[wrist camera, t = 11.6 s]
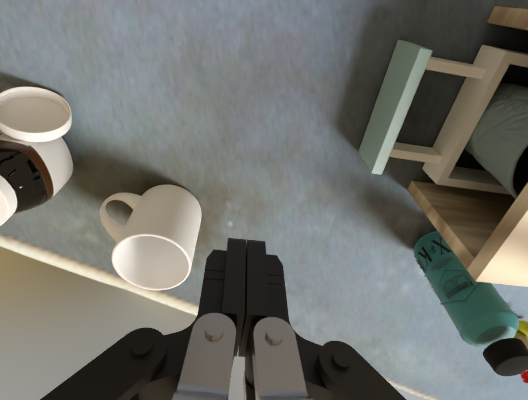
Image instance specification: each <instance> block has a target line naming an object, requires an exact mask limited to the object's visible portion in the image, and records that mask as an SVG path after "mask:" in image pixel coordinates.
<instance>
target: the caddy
mask: <svg viewBox="0 0 528 400" xmlns="http://www.w3.org/2000/svg"><path fill="white" fill-rule="evenodd" d="M431 54H432V50H430V49H427V48H424V47H422V46H419V45H416V44H414V43H411V42H408V41H403V40H398V41H397V44H396V47H395V49H394V52H393V55H392V58H391V61H390V64H389V66H388V69H387V72H386V75H385V78H384V81H383V83H382V86H381V89H380V92H379V95H378V97H377V100H376V103H375V106H374V109H373V112H372V114H371V117H370V120H369V123H368V126H367V129H366V131H365V134H364V137H363V140H362V143H361V145H360V148H359V151H358V153H359V154H360V156H361V157H362V159H363V161H364V162H365V164H366V165H367V167H368V169H369V170H370V172H371V173H373V174H381V175H382V172H383V170H384V168H385V165H386V163H387V160H388V158H389V157H394V158H401V159H408V160H415V161H421V162H425V164H424V166H423V168H422V169H423V170H424V171H425V172H426V173H427V175H428V176H429V177H430V178H431V179H432V180H433V181H434V182H435V183H436V184H437V185H445V186H452V187H459V188H466V189H474V190H481V191H488V192H495V193H503V194H510V193H509V192H508V191H507V190H506V188H505V187H504V186H503V185H502V184H501V183H500V182H499V181H498V180H497V179H496V178H495V177H494V176H493V175H492V174H491V173H490V172H489V171H484V170H478V169H471V168H464V167H457V166H455V164H456V162H457V161H458V159H459V157H460V155H461V153H462V151H463V150H464V148H465V146H466V144H467V142H468V140H469V138H470V137H471V135H472V133H473V131H474V129H475V127H476V126H477V124H478V122H479V120H480V118H481V116H482V114H483V113H484V111H485V109H486V107H487V105H488V103H489V102H490V100H491V98H492V96H493V94H494V92H495V90H496V89H497V87H498V85H499V83H500V81H501V79H502V78H503V76H504V74H505V72H506V70H507V68H508V66H509V65H510V64H513V65H518V66H523V67H528V54H527V53H522V52H517V51H512V50H507V49H502V48H497V47H492V46H487V45H482V46H481V48H480V50H479V52H478V54H477V56H476V58H475V60H474V62H473V64H468V63H462V62H457V61H452V60H446V59H441V58H436V57H430V56H431ZM425 69H427V70H432V71H438V72H443V73H449V74H454V75H460V76H465V77H466V79H465V81H464V83H463V85H462V87H461V89H460V91H459V93H458V96H457V98H456V100H455V102H454V104H453V106H452V108H451V110H450V112H449V114H448V116H447V118H446V120H445V122H444V124H443V127H442V129H441V131H440V133H439V135H438V137H437V139H436V141H435V143H434V145H433V147H432V148H431V147H424V146H418V145H411V144H404V143H398V142H395V141H396V138H397V136H398V134H399V131H400V129H401V126H402V124H403V122H404V119H405V117H406V114H407V112H408V109H409V107H410V105H411V102H412V100H413V97H414V95H415V92H416V90H417V88H418V85H419V83H420V80H421V78H422V76H423V73H424V71H425ZM510 195H511V194H510Z"/></svg>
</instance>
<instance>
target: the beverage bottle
mask: <svg viewBox="0 0 528 400" xmlns="http://www.w3.org/2000/svg"><path fill="white" fill-rule="evenodd" d="M414 255H415V258H416V259H417V262H418V264H419V265H420V266H421V267H420V269H421V268H422V270H423V271H424V273H425V275H426V277H427V278H428V280H429V282H430V284H431V285H432V286H431V285H430V286H431V287H433V289H434V293H435V292H436V294H437V296H438V297H439V299H440V302H441V305H443V306H444V307H445V309H446V311H447V312H448V314H449V316H450V317H451V319H452V321H453V323H454V324H455V326H456V328H457V329H458V331H459V333H460V336H461V338H462V339H463V340H464V341H465V342H466V343H468V344H470V345H473V346H476V347H480V348H485V350H484V352H483V356H484V358H485V359H486V361H487V362H488V363H489V364H490V366H491V367H492V369H493V370H494V371H495V372H496V373H497V374H498V375H501V376H513V375H517V374H520V373H523V372H525V371H527V370H528V349H527V347H526V345H525V344H524V343H523V341H522V340H520V339H517V338H514V336H515V334H516V332H517V329H518V326H519V319H518V317H517V315H516V314H515V313H514V312H513V311H512V310H511V309H510V308H509V306H508V305H507V304H506V302H505V301H504V300H503V298H502V297H501V296H500V295H499V293H498V292H497V291H496V289H495V288H494V287H493V285H492V284H491V283H487V282H477V281H475V280H474V279H473V277H472V276H471V275H470V273H469V272H468V271H467V269H466V268H465V267H464V265H463V264H462V263H461V261H460V260H459V259H458V257H457V256H456V255H455V253H454V252H453V251H452V249H451V248H450V247H449V245H448V244H447V243H446V241H445V240H444V239H443V237H442V236H441V235H440V233H439V232H438V231H434V232H430V233H428V234H426V235H424V236H423V237H421V238H420V239H419V240H418V241H417V243H416V244H415V247H414ZM425 275H424V276H425ZM429 282H428V283H429ZM433 289H432V290H433ZM436 294H435V295H436Z"/></svg>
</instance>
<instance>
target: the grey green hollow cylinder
mask: <svg viewBox="0 0 528 400" xmlns="http://www.w3.org/2000/svg"><path fill="white" fill-rule="evenodd" d="M464 149H465V150H466V151H467V152H468V153H470V154H471V155H474V158H475V159H476V160H477V161H478V163H480V164H481V165H482V166H483V167H484V168H485V169H486V170H487V171H489V172H490V173H491V174H492V175H493V176H494V177H495V178H496V179H497V180H498V181H499V182H500V183H501V184H502V185H503V186H504V187H505V188H506V190H507V191H508V192H509V193H510V194H511V195H512V196H513V197H514V198H515V199H517V197H518V196H519V194H520V193H521V192H522V190H523V189H524V187H525V186H526V184H527V183H528V88H527V87H524V86H521V85H517V84H512V83H500V84H499V85H498V87H497V89H496V90H495V92H494V94H493V96H492V98H491V100H490V102H489V103H488V105H487V107H486V109H485V111H484V113H483V114H482V116H481V118H480V120H479V122H478V124H477V126H476V127H475V129H474V131H473V133H472V135H471V137H470V138H469V140H468V142H467V144H466V146H465V148H464Z"/></svg>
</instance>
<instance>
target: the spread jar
mask: <svg viewBox="0 0 528 400" xmlns="http://www.w3.org/2000/svg"><path fill="white" fill-rule="evenodd" d="M71 124H72V116H71V108H70V106H69V104H68V102H67V101H66V100H65V99H64V98H62V97H61V96H60V95H58V94H56V93H54V92H52V91H49V90H47V89H43V88H38V87H25V86H24V87H15V88H11V89H8V90H5V91H3V92H1V93H0V225H2V224H3V223H4V222H5V221H6V220H7V219H8V218H9V217H11V216H12V215H13V214H17V213H20V212H23V211H27V210H30V209H32V208H35V207H37V206H39V205H42V204H43V203H45V202H46V201H48V200H49V199H51V198H52V197H53V196H54V195H55V194H56V193H57V192H58V191H59V190H60V189H61V188H62V187H63V186H64V185H65V184H66V182H67V181H68V180H69V179H70V177H71V175H72V172H73V161H72V156H71V152H70V150H69V147H68V145H67V143H66V142H65V140H64V138H63V137H62V136H63V135H64V134H65V133H66V132H67V131H68V130H69V129H70V127H71Z"/></svg>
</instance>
